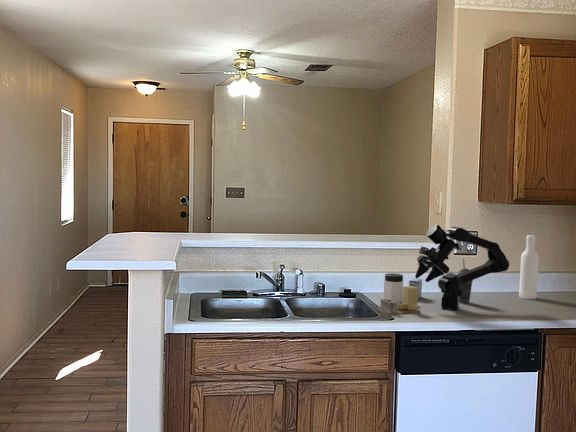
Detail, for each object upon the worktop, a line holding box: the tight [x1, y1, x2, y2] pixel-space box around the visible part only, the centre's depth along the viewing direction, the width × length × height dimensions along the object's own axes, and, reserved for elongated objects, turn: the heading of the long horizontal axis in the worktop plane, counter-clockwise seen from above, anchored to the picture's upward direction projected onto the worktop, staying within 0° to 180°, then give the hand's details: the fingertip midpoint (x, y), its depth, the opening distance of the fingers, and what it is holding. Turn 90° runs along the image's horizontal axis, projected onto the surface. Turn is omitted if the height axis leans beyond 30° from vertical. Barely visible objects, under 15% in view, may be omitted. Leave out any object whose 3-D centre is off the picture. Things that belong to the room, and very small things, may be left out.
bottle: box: [518, 234, 540, 300], centre depth 284 cm, size 8×8×30 cm
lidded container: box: [383, 272, 404, 304], centre depth 270 cm, size 9×8×12 cm
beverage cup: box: [456, 258, 474, 304], centre depth 270 cm, size 7×7×20 cm
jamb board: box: [379, 298, 421, 316], centre depth 250 cm, size 14×8×5 cm, turn 109°
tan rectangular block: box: [397, 285, 418, 310], centre depth 250 cm, size 9×4×9 cm, turn 109°
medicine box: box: [408, 277, 423, 301], centre depth 278 cm, size 8×4×9 cm, turn 155°
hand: (420, 279), depth 253 cm, fingers open, 9 cm apart
